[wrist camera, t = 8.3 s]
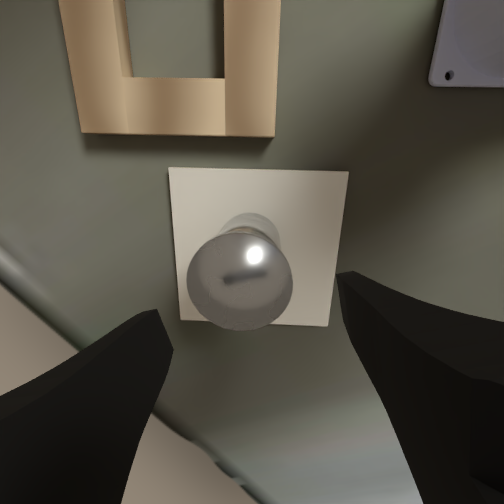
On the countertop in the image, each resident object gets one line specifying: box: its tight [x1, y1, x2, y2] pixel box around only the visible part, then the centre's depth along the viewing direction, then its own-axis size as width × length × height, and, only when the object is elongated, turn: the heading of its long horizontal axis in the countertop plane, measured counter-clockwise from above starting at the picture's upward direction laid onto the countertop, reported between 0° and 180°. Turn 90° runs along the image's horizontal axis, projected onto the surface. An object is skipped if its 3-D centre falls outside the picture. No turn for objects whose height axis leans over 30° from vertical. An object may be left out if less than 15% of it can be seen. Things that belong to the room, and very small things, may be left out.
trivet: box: [168, 167, 349, 326], centre depth 20 cm, size 12×12×1 cm
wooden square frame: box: [58, 0, 281, 138], centre depth 15 cm, size 12×12×2 cm
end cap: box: [186, 213, 293, 331], centre depth 17 cm, size 5×5×7 cm
